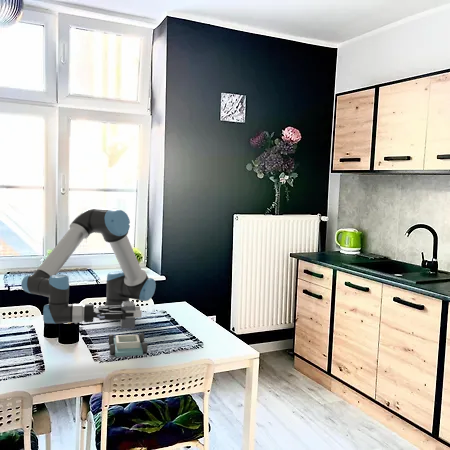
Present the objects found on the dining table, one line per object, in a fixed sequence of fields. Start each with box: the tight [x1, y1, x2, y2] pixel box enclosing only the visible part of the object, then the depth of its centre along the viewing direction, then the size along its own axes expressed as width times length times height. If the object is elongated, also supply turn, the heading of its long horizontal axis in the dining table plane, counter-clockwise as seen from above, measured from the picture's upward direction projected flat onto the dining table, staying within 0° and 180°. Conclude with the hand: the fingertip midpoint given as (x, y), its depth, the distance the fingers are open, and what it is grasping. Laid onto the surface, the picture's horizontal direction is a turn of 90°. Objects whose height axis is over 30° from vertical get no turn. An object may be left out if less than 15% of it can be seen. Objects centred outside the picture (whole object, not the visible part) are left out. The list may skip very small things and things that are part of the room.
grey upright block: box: [120, 300, 136, 329], centre depth 200 cm, size 6×6×10 cm
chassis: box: [108, 332, 149, 357], centre depth 201 cm, size 18×15×4 cm
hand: (140, 311), depth 201 cm, fingers closed on grey upright block, 5 cm apart
